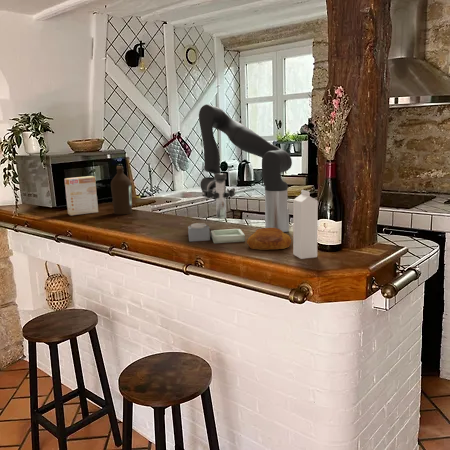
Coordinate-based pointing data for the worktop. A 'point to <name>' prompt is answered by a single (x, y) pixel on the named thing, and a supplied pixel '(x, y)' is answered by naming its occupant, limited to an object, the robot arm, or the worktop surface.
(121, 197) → the olive oil
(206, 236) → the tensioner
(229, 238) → the tray
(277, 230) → the bread loaf
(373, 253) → the worktop surface
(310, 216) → the milk
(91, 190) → the coffeecake box
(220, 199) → the lock pin
